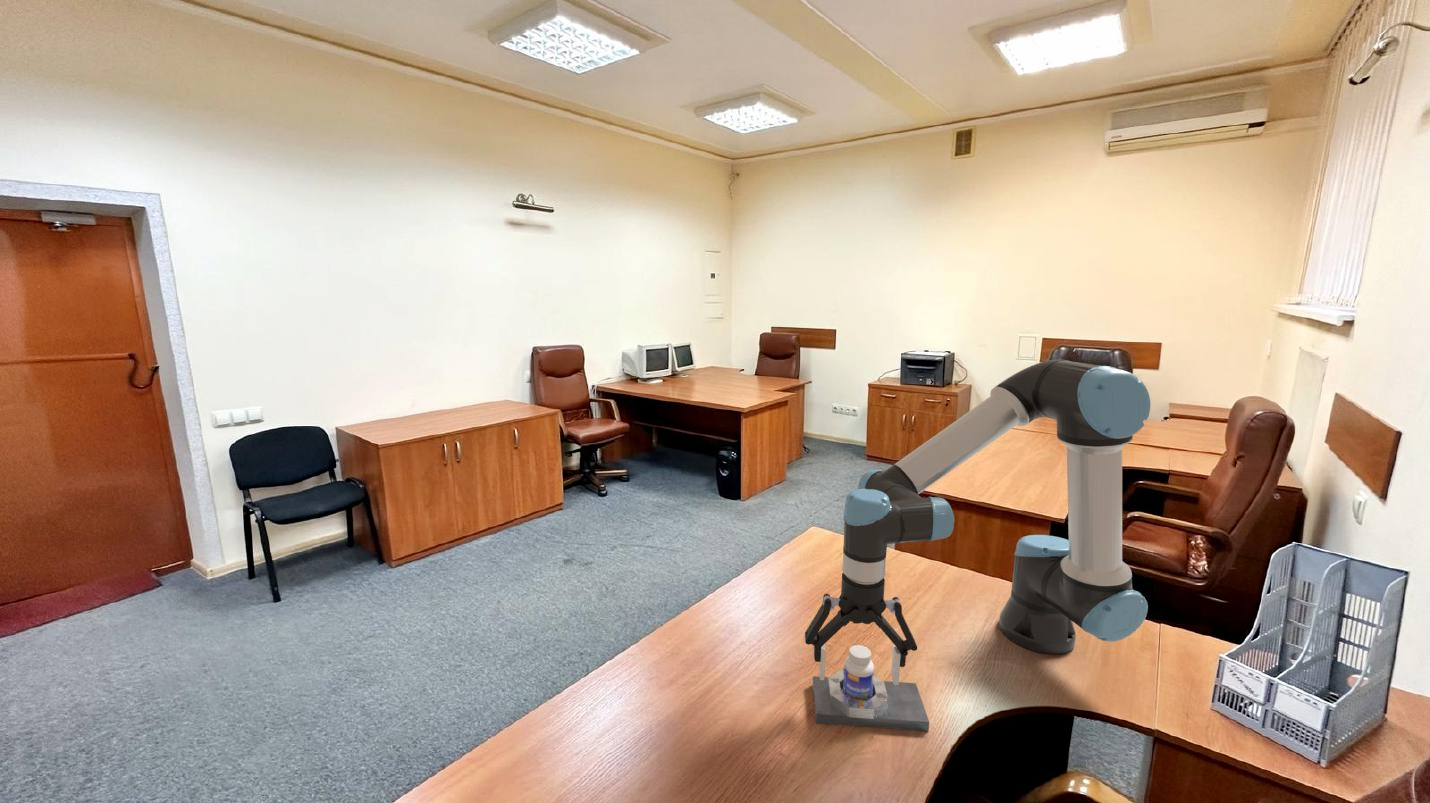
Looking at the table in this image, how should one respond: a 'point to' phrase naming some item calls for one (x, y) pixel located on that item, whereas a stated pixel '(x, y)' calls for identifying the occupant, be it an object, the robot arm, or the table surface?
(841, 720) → the hub plate
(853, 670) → the pill bottle
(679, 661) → the table surface
